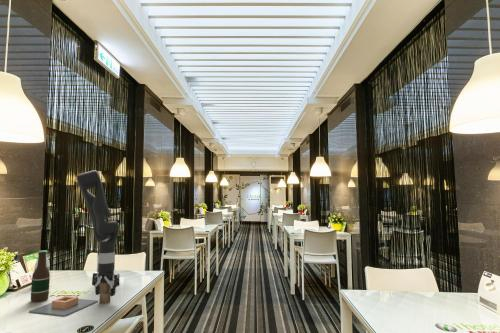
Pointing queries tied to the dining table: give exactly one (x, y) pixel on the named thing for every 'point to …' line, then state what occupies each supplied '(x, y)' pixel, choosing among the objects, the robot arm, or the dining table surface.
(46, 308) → the socket holder
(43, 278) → the beer bottle
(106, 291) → the walnut peg
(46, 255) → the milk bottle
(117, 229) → the robot arm
